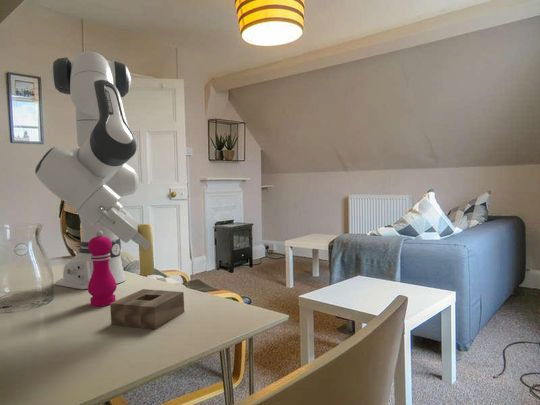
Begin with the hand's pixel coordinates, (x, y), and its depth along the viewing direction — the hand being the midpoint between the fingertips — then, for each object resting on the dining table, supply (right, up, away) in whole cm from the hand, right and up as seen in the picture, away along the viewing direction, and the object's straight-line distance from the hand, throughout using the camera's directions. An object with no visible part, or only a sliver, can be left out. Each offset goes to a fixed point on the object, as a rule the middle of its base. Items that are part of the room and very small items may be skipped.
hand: (148, 245), depth 93 cm
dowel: (0, -7, 0) cm, 7 cm away
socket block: (0, -17, +1) cm, 17 cm away
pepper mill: (-17, -17, +14) cm, 28 cm away
